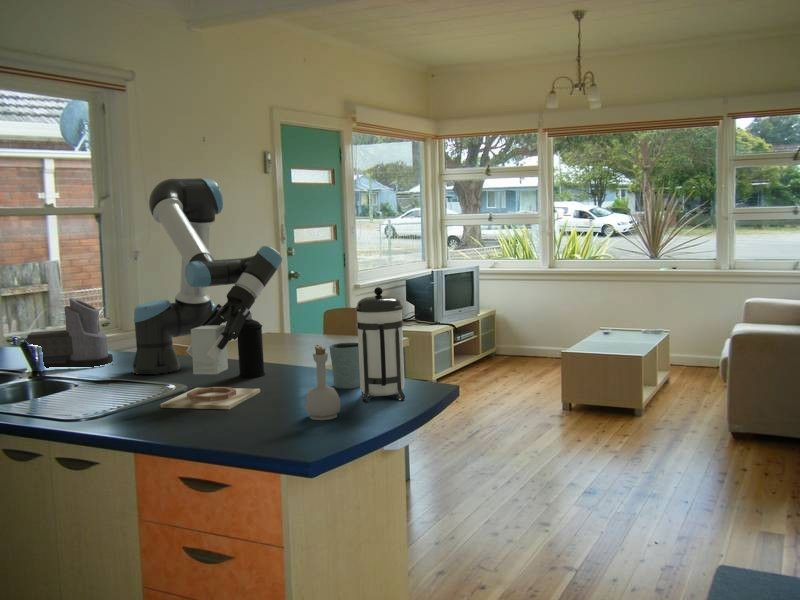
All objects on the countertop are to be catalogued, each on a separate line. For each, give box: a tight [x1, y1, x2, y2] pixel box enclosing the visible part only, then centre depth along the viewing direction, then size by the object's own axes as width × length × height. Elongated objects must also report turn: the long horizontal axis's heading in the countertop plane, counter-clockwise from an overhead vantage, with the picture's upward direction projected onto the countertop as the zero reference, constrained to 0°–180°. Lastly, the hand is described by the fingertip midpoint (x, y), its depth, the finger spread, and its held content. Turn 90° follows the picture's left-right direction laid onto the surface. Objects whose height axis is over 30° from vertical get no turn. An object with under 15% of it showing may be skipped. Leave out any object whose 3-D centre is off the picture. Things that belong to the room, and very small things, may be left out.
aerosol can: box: [237, 312, 266, 379], centre depth 254 cm, size 8×8×20 cm
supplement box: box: [190, 324, 229, 375], centre depth 221 cm, size 7×7×13 cm
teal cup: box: [329, 342, 360, 389], centre depth 234 cm, size 10×10×12 cm
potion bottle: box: [304, 344, 342, 421], centre depth 198 cm, size 9×9×18 cm
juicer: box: [24, 297, 114, 368], centre depth 283 cm, size 30×16×24 cm, turn 104°
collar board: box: [160, 386, 261, 410], centre depth 222 cm, size 20×20×2 cm
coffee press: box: [354, 286, 406, 403], centre depth 215 cm, size 17×16×30 cm
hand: (200, 356), depth 219 cm, fingers closed on supplement box, 10 cm apart
